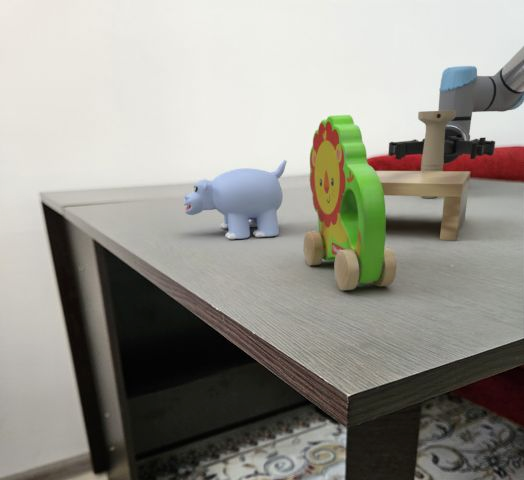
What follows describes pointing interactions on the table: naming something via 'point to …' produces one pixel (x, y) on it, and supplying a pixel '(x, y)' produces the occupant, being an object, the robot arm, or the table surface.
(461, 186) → the shelf stand
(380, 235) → the toy lion
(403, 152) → the robot arm
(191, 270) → the table surface
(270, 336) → the table surface
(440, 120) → the handle
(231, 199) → the hippopotamus toy
